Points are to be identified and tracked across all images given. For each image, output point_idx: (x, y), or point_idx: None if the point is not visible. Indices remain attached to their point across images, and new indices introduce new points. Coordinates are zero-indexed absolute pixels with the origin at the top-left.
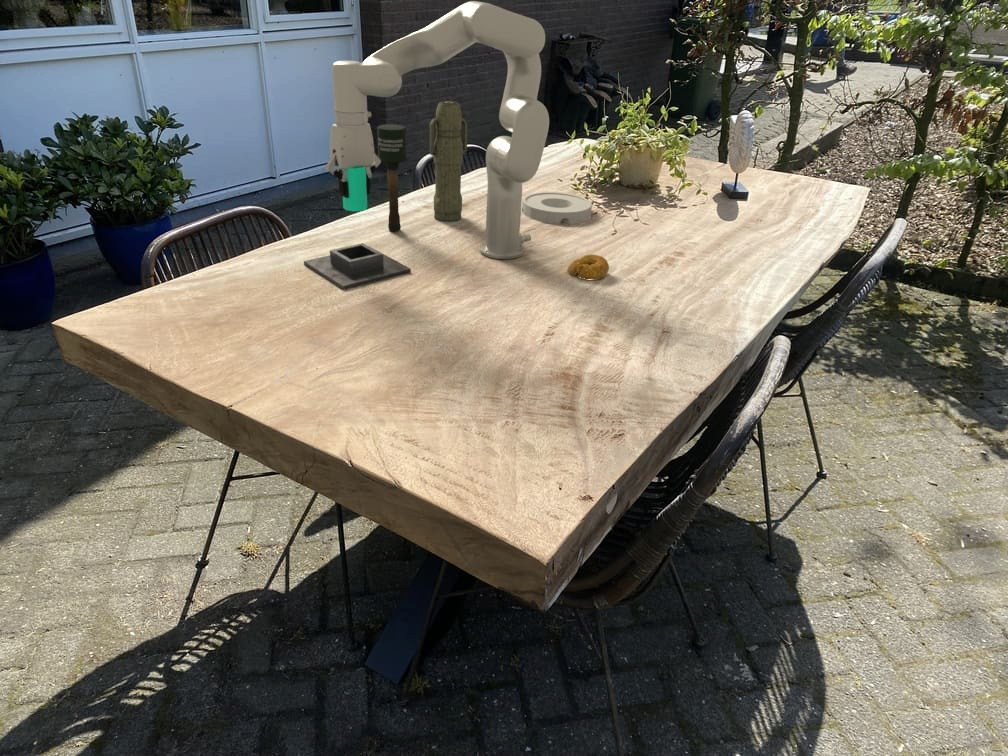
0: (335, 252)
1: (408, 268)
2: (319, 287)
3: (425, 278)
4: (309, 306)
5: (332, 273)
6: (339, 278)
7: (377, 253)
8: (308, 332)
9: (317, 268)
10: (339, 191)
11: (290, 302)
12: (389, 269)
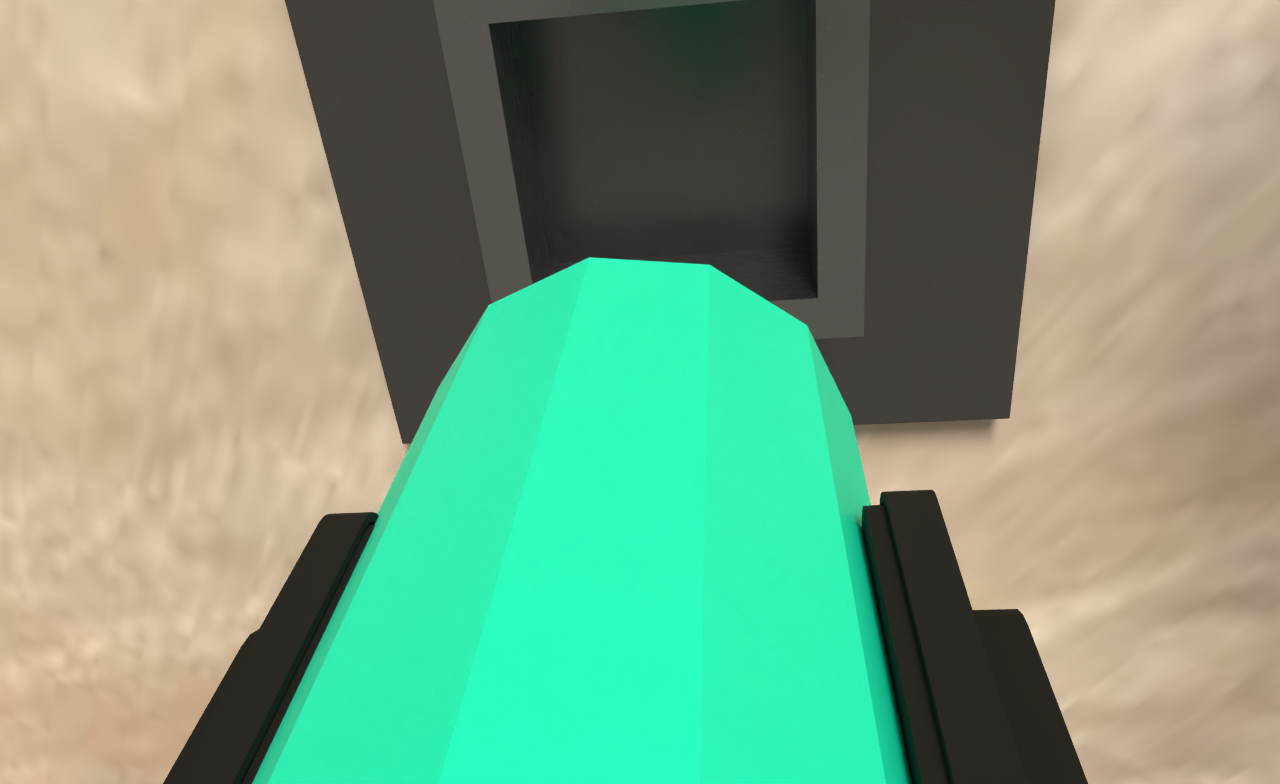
0: (465, 69)
1: (998, 407)
2: (266, 314)
3: (1010, 531)
4: (152, 523)
5: (400, 203)
6: (421, 319)
7: (828, 297)
8: (109, 733)
9: (308, 26)
10: (252, 637)
11: (44, 427)
12: (856, 352)
